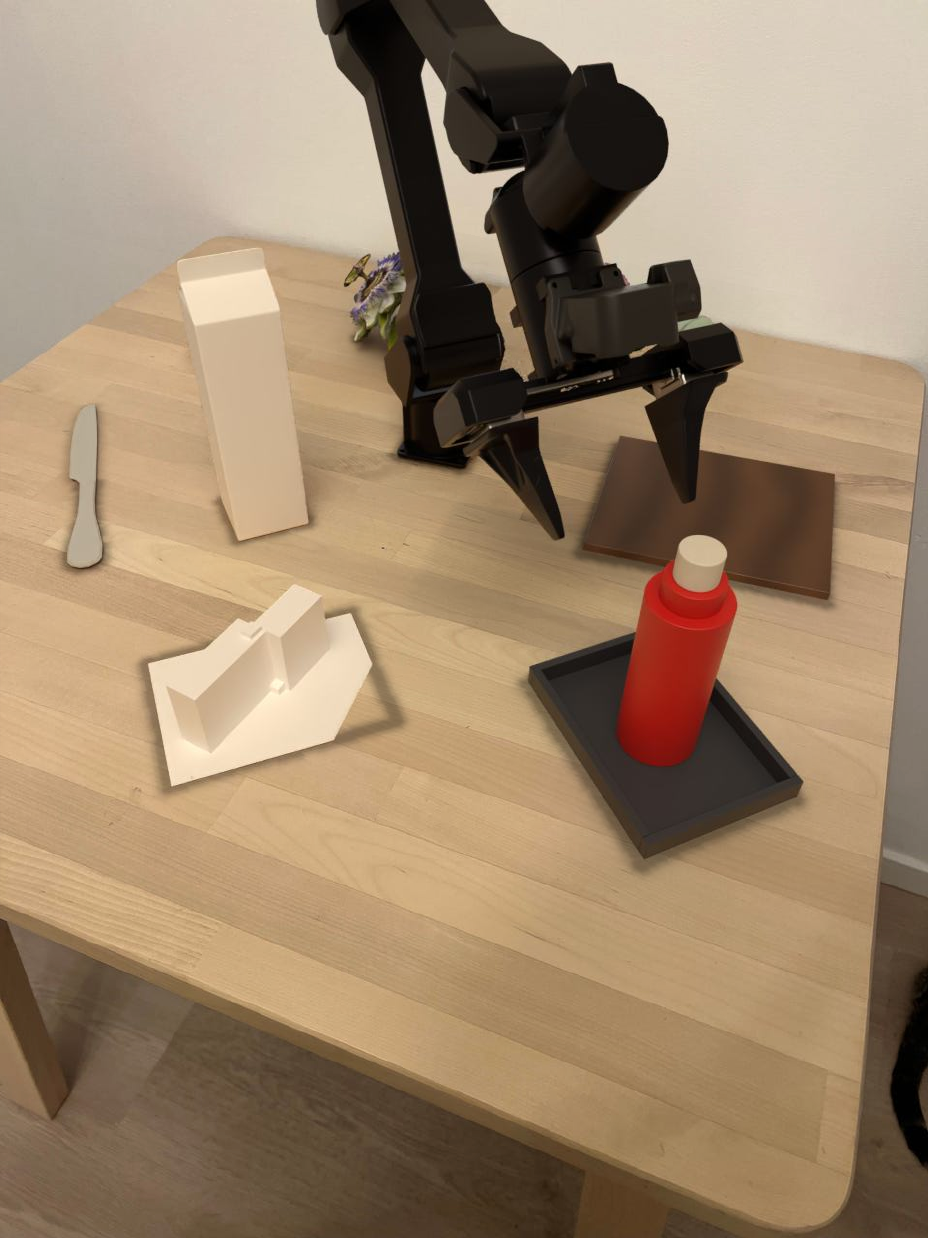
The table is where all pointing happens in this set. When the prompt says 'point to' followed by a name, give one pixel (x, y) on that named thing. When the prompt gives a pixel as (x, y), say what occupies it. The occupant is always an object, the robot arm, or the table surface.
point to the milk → (244, 389)
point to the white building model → (259, 688)
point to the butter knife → (85, 491)
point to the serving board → (720, 516)
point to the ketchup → (676, 654)
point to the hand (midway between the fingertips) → (625, 520)
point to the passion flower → (377, 296)
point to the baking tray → (650, 795)
